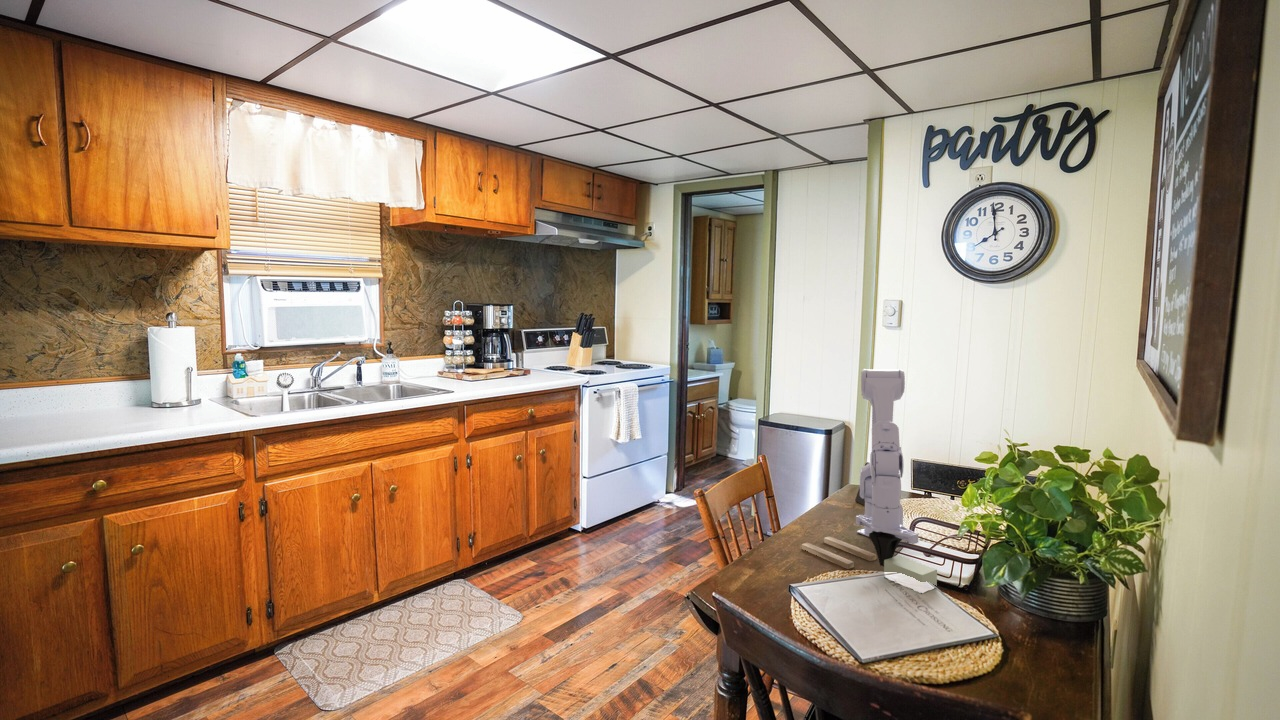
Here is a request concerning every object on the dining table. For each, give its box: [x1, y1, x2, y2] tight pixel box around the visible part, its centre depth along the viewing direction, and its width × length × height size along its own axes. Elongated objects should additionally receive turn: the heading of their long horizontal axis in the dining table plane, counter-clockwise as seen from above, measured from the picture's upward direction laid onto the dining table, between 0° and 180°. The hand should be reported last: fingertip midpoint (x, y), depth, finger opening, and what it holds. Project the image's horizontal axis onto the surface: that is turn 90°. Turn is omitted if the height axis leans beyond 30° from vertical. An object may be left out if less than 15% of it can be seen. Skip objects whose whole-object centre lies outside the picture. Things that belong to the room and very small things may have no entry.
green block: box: [883, 554, 938, 587], centre depth 127 cm, size 5×9×4 cm, turn 31°
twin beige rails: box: [801, 536, 877, 570], centre depth 143 cm, size 10×14×1 cm
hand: (885, 565), depth 132 cm, fingers closed
